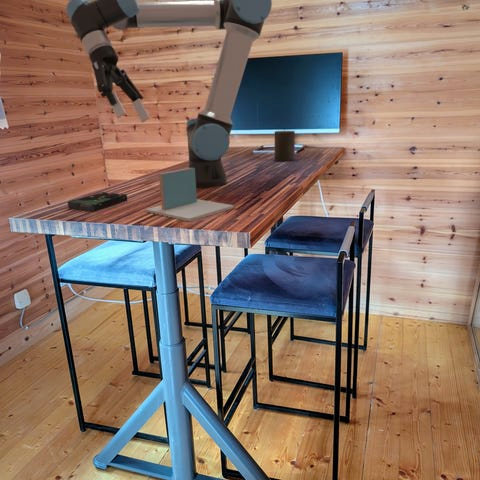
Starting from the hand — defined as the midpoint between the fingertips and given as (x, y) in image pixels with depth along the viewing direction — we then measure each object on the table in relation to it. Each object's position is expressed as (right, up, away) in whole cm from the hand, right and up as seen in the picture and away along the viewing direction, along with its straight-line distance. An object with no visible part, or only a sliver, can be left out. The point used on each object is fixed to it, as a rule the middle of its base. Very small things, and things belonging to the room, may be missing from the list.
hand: (134, 118), depth 128 cm
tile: (+13, -25, -1) cm, 29 cm away
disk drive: (-12, -25, +7) cm, 29 cm away
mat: (+17, -27, -3) cm, 32 cm away
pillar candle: (+52, +3, +87) cm, 101 cm away
